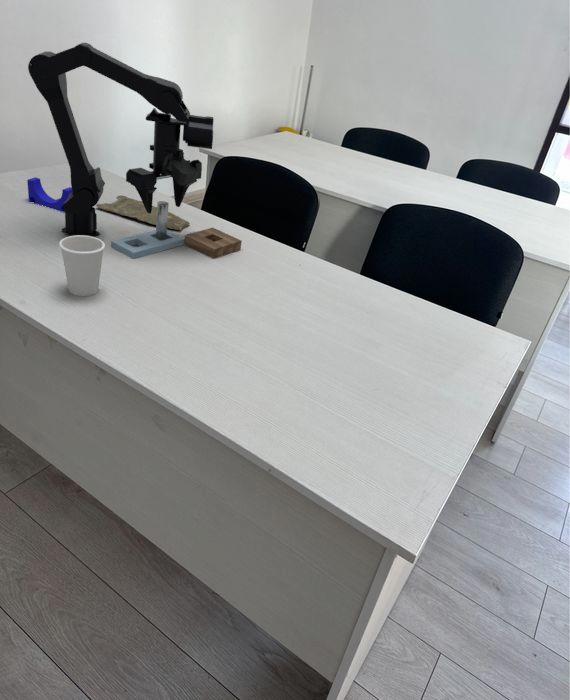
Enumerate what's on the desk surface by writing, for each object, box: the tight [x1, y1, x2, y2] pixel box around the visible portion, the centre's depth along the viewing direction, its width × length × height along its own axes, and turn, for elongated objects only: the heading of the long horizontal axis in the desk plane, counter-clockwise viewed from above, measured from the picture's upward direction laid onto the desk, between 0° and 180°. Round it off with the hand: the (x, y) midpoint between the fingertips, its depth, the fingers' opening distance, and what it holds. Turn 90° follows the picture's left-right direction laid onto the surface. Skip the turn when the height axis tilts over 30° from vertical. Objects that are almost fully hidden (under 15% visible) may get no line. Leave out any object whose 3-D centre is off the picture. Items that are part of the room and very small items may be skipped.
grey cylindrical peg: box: [155, 200, 169, 241], centre depth 141 cm, size 3×3×10 cm
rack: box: [110, 229, 185, 259], centre depth 140 cm, size 16×8×2 cm, turn 143°
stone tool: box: [95, 195, 190, 231], centre depth 156 cm, size 11×3×25 cm
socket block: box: [184, 227, 243, 259], centre depth 145 cm, size 10×10×2 cm
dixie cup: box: [58, 235, 106, 297], centre depth 115 cm, size 8×8×10 cm
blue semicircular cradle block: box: [26, 176, 72, 213], centre depth 151 cm, size 12×4×6 cm, turn 71°
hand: (163, 209), depth 139 cm, fingers open, 9 cm apart
